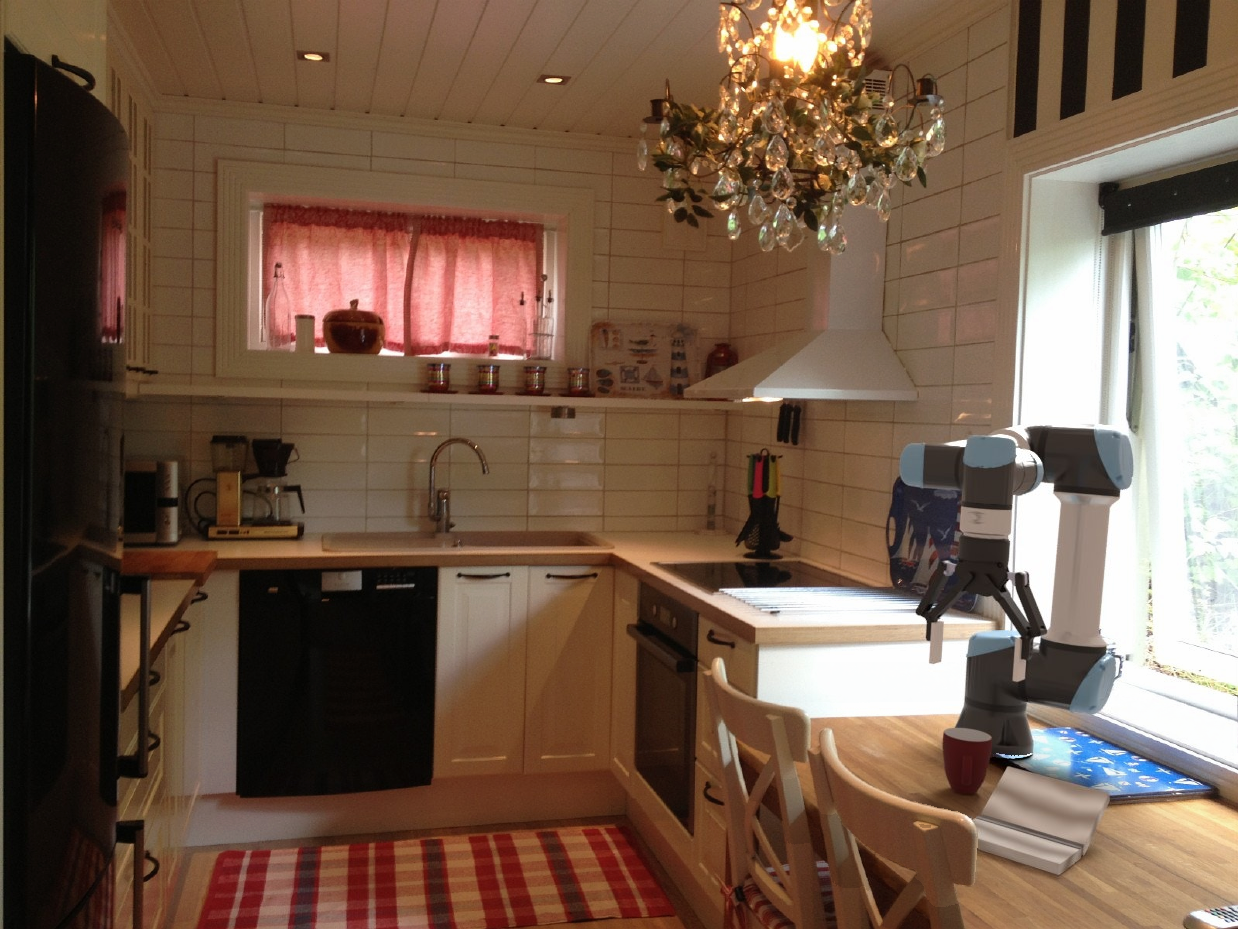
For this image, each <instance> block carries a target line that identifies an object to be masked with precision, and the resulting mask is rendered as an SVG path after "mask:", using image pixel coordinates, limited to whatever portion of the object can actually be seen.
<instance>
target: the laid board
mask: <svg viewBox="0 0 1238 929" xmlns="http://www.w3.org/2000/svg"><path fill="white" fill-rule="evenodd" d="M979 816H980V815H977V816H976V817H975V818H973V819H972V820H973V821H975V825H976V827H977V829H978V849H977V850H979V851H982V852H986V853H989V854H992V855H995V856H998V857H1001V858H1004V859H1007V860H1010V861H1014V862H1015V863H1019V864H1022V865H1026V866H1029V867H1032V868H1036V869H1038V870H1042V871H1044V872H1048V873H1051V874H1054V875H1057V876H1061V874H1063V873H1064V872H1065V871H1067V870H1069V869H1070V868H1071V867H1072V866H1073V865H1075V862H1076V863H1077V862H1078V861H1079V860H1081V859H1082V855H1081V851H1082V847H1079V846H1076V845H1073V844H1069V843H1066V842H1063V841H1059V840H1056V839H1053V838H1049V837H1046V836H1043V835H1039V834H1036V833H1033V832H1029V831H1026V830H1022V829H1019V828H1016V827H1012V826H1009V825H1006V824H1002V823H999V822H996V821H992V820H989V819H986V818H982V817H979ZM1066 869H1067V870H1066Z"/></svg>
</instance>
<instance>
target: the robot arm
mask: <svg viewBox="0 0 1238 929" xmlns="http://www.w3.org/2000/svg"><path fill="white" fill-rule="evenodd" d="M899 458H900V459H899V476H900V478H901V480H902V482H903V483H904V484H905V485H907V486H910V487H916V488H920V489H924V488H925V489H937V490H949V491H950V490H952V491H962V492H961V501H960V502H961V507H960V518H959V530H960V531H961V532H962V533H963V534H960V536H958V546H957V547H958V549H957V558H958V560H957V563H952V561H951V560H943V561H938V563H937V568H936V572H935V575H934V578H933V579H932V581H931V583H930V584H929V586H928V588H927V590H926V591H925V593H924V594H923V597H922V598H921V600H920V602H919V603H918V605H917V608H916V609H915V615H917V616H919V617H922V618H923V619H925V621H926V626H925V627H926V628H925V639H926V641H927V642H929V643H930V644H929V657H928V658H929V659H928V663H929V664H931V665H935V664H938V663H942V654H943V642H944V641H943V639H944V638H943V637H944V628H945V627H944V625H945V624H944V623H945V622H944V621H941V618H942V617H943V615H944V614H946V612H948V610H949V609H950V608H952V606H953V605H955V604H956V602H958V600H959V599H960V598H962V596H963V595H965V594H968V595H979V596H981V597H986V598H988V597H992V598H993V599H994V600H995V601H996V602H997V603H998V604H999V606H1000V607H1001V609H1002V610H1003V611H1004V613H1005V614H1006V615H1005V616H1007V618H1008V619H1009V621H1010V622H1011V623H1012V625H1013V627H1014V628H1015V630H1007V629H1006V630H1005V629H1004V630H1002V629H1001V630H999V629H998V630H986V631H979V632H976V633H974V634H972V635H971V636H970V638H969V640H968V645H967V653H966V655H965V657H966V663H965V664H966V667H965V668H966V669H965V684H964V685H965V686H964V699H963V700H964V702H963V707H962V708H961V712H960V713H959V716H958V718H957V721H956V723H955V726H954V728H967V729H974V730H978V731H982V732H984V733H987V734H989V735H990V736H991V737H992V749H991V756H990V759H993V758H992V755H993V754H996V753H999V754H1005V755H1011V756H1012V755H1014V756H1015V755H1018V756H1019V755H1027V754H1030V753H1033V754H1034V744H1035V743H1034V739H1033V734H1032V732H1031V727H1030V723H1029V720H1028V719H1029V718H1028V716H1027V706H1028V703H1029V704H1034V705H1037V706H1038V705H1039V706H1043V707H1049V708H1054V709H1058V710H1062V711H1067V712H1070V713H1071V714H1075V713H1077V714H1082V715H1096V714H1098V713H1099V712H1101V711H1102V710H1103V709H1104V707H1105V706H1106V704H1107V703H1108V700H1109V698H1110V696H1111V693H1112V691H1113V690H1112V689H1113V686H1114V683H1115V677H1116V673H1117V661H1116V658H1115V657H1114V656H1113V655H1111V654H1110V653H1107V647H1108V646H1107V645H1108V643H1107V641H1106V640H1105V639H1103V638H1102V636H1101V635H1100V634H1101V633H1100V625H1101V624H1100V623H1101V612H1102V602H1103V591H1104V590H1103V589H1104V580H1105V579H1104V578H1105V567H1106V556H1107V548H1108V547H1107V546H1108V534H1109V524H1110V523H1109V522H1110V512H1111V511H1110V510H1111V507H1112V505H1114V504H1115V503H1116V502H1118V501H1119V500H1120V498H1121V490H1122V491H1123V490H1128V489H1129V488H1130V487H1131V485H1132V482H1133V477H1134V455H1133V448H1132V445H1131V441H1130V437H1129V435H1128V434H1127V433H1126V431H1125V430H1123V428H1121V427H1118V426H1115V425H1104V424H1100V423H1098V424H1092V423H1091V424H1089V423H1087V424H1086V423H1085V424H1084V423H1057V422H1056V423H1054V422H1035V423H1027V424H1021V425H1016V426H1011V427H1005V428H999V429H996V430H994V431H992V432H990V433H989V434H988V435H977V434H973V435H970V436H968V437H967V438H966V439H962V440H955V441H949V442H941V443H926V442H921V443H917V442H915V443H914V442H911V443H909V444H907V445H906V446H905V447H904V448H903V450H902V451H901V455H900V457H899ZM1041 483H1045V484H1046V483H1047V484H1053V492H1052V494H1054V496H1055V497H1056V498H1057V499H1058V501H1059V502H1060V507H1059V508H1060V509H1059V522H1058V531H1057V541H1056V542H1057V544H1056V555H1055V566H1054V577H1053V578H1054V579H1053V590H1052V603H1051V610H1050V611H1051V613H1050V623H1049V624H1050V625H1049V628H1048V629H1047V626H1046V624H1045V621H1044V618H1043V616H1042V613H1041V611H1040V609H1039V606H1038V603H1037V601H1036V599H1035V596H1034V593H1033V591H1032V589H1031V586H1030V574H1029V572H1028V570H1027V571H1026V570H1024V571H1015V572H1013V571H1010V568H1009V562H1010V550H1011V548H1010V546H1011V540H1010V538H1008V537H1007V536H1009V535H1011V533H1012V520H1013V502H1014V496H1017V497H1018V496H1019V497H1020V496H1023V495H1026V494H1028V493H1031V492H1033V491H1034V490H1036V489H1037V488H1038V487H1039V486H1040V485H1041ZM954 573H955V575H956V577H957V579H958V581H957V582H956V583H955V585H954V586H953V587H952V588H951V589H950V591H949V592H948V593H947V594H946V595H945V596H944V597H942V598H941V600H940V601H939V602H938V603H937V604H936V605H935V606H934V604H935V603H936V601H937V599H938V598H939V596H940V594H941V593H942V591H943V589H944V588H945V586H946V584H947V582H948V581H949V579H950V576H953V575H954ZM1009 580H1010V582H1011V584H1012V586H1014V587H1015V592H1016V594H1017V597H1018V599H1019V602H1020V605H1021V607H1022V610H1023V611H1022V610H1021V609H1020V608H1019V606H1018V605H1017V604H1016V602H1015V600H1014V599H1013V597H1012V594H1011V592H1010V590H1009V589H1008V588H1007V586H1006V584H1007V583H1008V582H1009ZM1022 612H1024V614H1025V615H1024V614H1023V613H1022ZM1025 616H1026V617H1025ZM1039 637H1040V640H1039V642H1034V640H1035V638H1039Z"/></svg>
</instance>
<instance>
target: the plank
mask: <svg viewBox="0 0 1238 929" xmlns="http://www.w3.org/2000/svg"><path fill="white" fill-rule="evenodd" d="M1110 798H1111V797H1110V792H1108V791H1105V790H1100V789H1096V788H1091V787H1088V786H1084V785H1080V784H1078V783H1077V784H1076V783H1073V782H1069V781H1066V780H1061V779H1058V778H1054V777H1049V776H1046V775H1042V774H1039V773H1035V772H1032V771H1031V772H1030V771H1028V770H1023V769H1019V768H1016V767H1012V766H1007V767H1006V769H1005V771H1004V773H1003V774H1002V776H1001V778H1000V780H999V781H998V783H997V785H996V786H995V788H994V790H993V791H992V794H991V795H990V797H989V799H988V800H987V802H986V804H985V806H984V807H983V809H982V810H981V813H980V814H979V815H978V816H979V817H982V818H986V819H989V820H992V821H996V822H999V823H1002V824H1006V825H1009V826H1012V827H1016V828H1019V829H1022V830H1026V831H1029V832H1033V833H1036V834H1039V835H1043V836H1046V837H1049V838H1053V839H1056V840H1059V841H1063V842H1066V843H1069V844H1073V845H1076V846H1079V847H1082V851H1081V856H1082V855H1083V856H1082V857H1085V855H1086V853H1087V851H1088V848H1089V846H1090V844H1091V841H1092V839H1093V837H1094V835H1095V833H1096V831H1097V829H1098V827H1099V825H1100V823H1101V821H1102V818H1103V816H1104V814H1105V812H1106V810H1107V808H1108V805H1109V803H1110V801H1111V799H1110Z"/></svg>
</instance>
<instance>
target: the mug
mask: <svg viewBox="0 0 1238 929" xmlns="http://www.w3.org/2000/svg"><path fill="white" fill-rule="evenodd" d="M991 749H992V737H991V736H990V735H989V734H987V733H984V732H982V731H978V730H974V729H967V728H955V727H949V728H945V729H944V730H943V735H942V753H943V754H942V757H943V765H944V771H945V772H944V773H945V777H946V779H947V782H948V784H949V786H950V789H951V790H952V791H953V792H954V793H955V794H959V795H963V796H973V795H976V794H977V793H978V791H979V789H980V788H981V787H982V785H983V783H984V782H985V779H986V775H987V771H988V767H989V764H990V760H991V758H990V756H991Z"/></svg>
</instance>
